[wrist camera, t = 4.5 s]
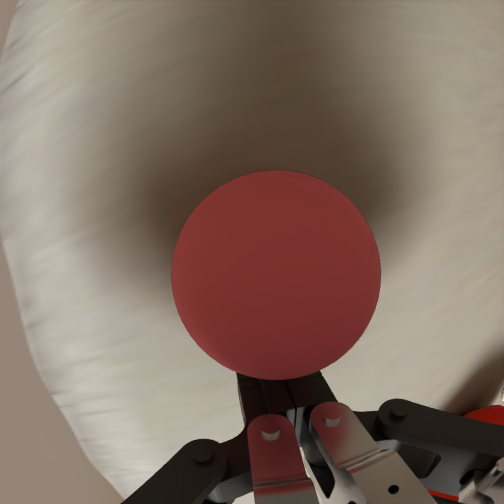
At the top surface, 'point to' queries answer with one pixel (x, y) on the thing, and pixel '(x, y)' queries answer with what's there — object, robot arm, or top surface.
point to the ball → (276, 275)
